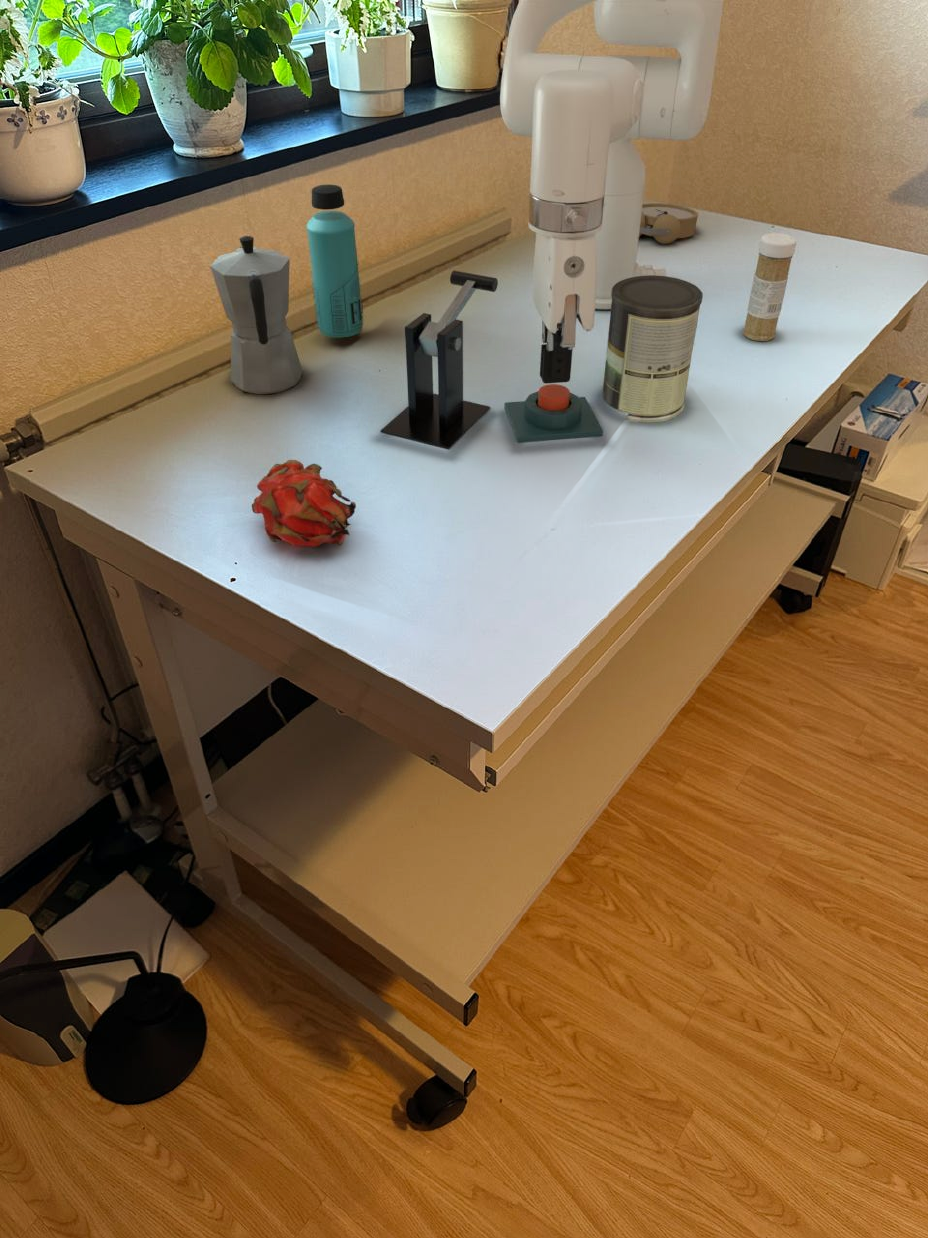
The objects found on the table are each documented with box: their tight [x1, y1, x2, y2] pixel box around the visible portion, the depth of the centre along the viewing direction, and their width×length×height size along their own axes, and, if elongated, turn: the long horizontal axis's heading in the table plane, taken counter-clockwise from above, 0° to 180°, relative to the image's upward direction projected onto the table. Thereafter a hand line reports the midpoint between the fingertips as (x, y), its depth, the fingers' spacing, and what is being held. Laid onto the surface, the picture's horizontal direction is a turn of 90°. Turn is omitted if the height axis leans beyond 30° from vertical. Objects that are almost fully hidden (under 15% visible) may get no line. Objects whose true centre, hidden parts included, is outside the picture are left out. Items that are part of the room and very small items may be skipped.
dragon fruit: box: [251, 459, 357, 548], centre depth 92 cm, size 8×8×12 cm
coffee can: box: [602, 275, 704, 423], centre depth 111 cm, size 10×10×14 cm
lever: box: [419, 270, 499, 358], centre depth 106 cm, size 13×6×2 cm, turn 153°
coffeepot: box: [209, 235, 304, 395], centre depth 114 cm, size 15×9×18 cm, turn 15°
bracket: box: [379, 312, 491, 450], centre depth 107 cm, size 11×9×13 cm
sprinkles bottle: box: [742, 232, 797, 342], centre depth 127 cm, size 5×5×13 cm
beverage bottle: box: [305, 184, 365, 339], centre depth 124 cm, size 6×7×20 cm
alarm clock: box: [639, 202, 699, 245], centre depth 162 cm, size 11×5×15 cm
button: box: [538, 383, 571, 411], centre depth 108 cm, size 4×4×2 cm
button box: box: [503, 390, 604, 444], centre depth 110 cm, size 10×8×4 cm
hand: (554, 379), depth 107 cm, fingers closed
